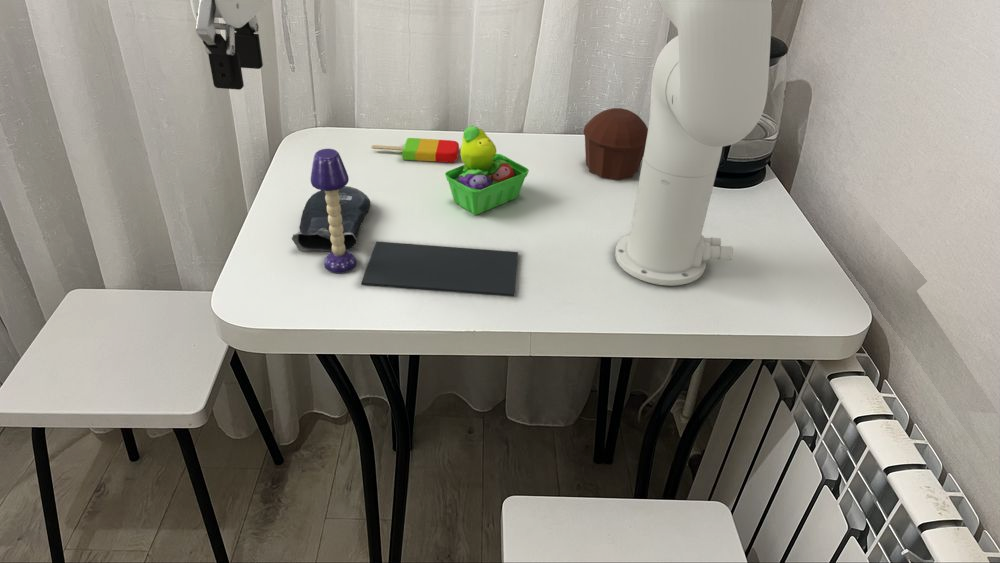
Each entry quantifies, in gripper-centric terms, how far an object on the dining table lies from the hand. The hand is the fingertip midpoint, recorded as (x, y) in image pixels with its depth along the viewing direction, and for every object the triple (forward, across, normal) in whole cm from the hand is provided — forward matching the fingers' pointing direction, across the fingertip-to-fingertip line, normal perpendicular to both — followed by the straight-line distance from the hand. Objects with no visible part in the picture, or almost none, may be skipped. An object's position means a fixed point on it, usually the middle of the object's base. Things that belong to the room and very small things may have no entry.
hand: (239, 75), depth 86 cm
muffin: (+26, +35, -48) cm, 65 cm away
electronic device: (+26, +10, -7) cm, 29 cm away
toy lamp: (+26, 0, -10) cm, 27 cm away
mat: (+26, +1, -24) cm, 35 cm away
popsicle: (+26, +35, -14) cm, 46 cm away
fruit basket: (+26, +21, -28) cm, 43 cm away
